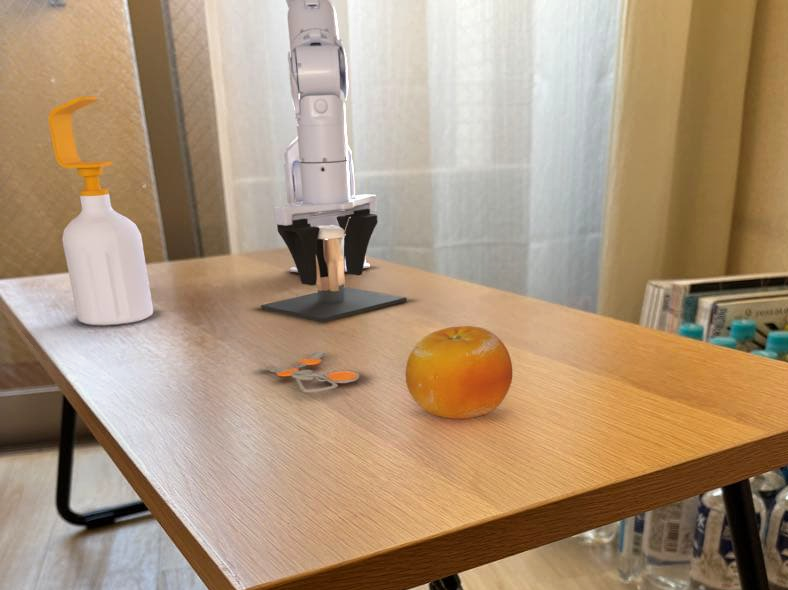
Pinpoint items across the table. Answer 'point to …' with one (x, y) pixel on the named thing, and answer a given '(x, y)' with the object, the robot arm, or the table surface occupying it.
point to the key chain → (315, 374)
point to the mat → (333, 305)
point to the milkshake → (330, 263)
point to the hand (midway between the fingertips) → (332, 279)
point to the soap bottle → (99, 240)
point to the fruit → (459, 372)
